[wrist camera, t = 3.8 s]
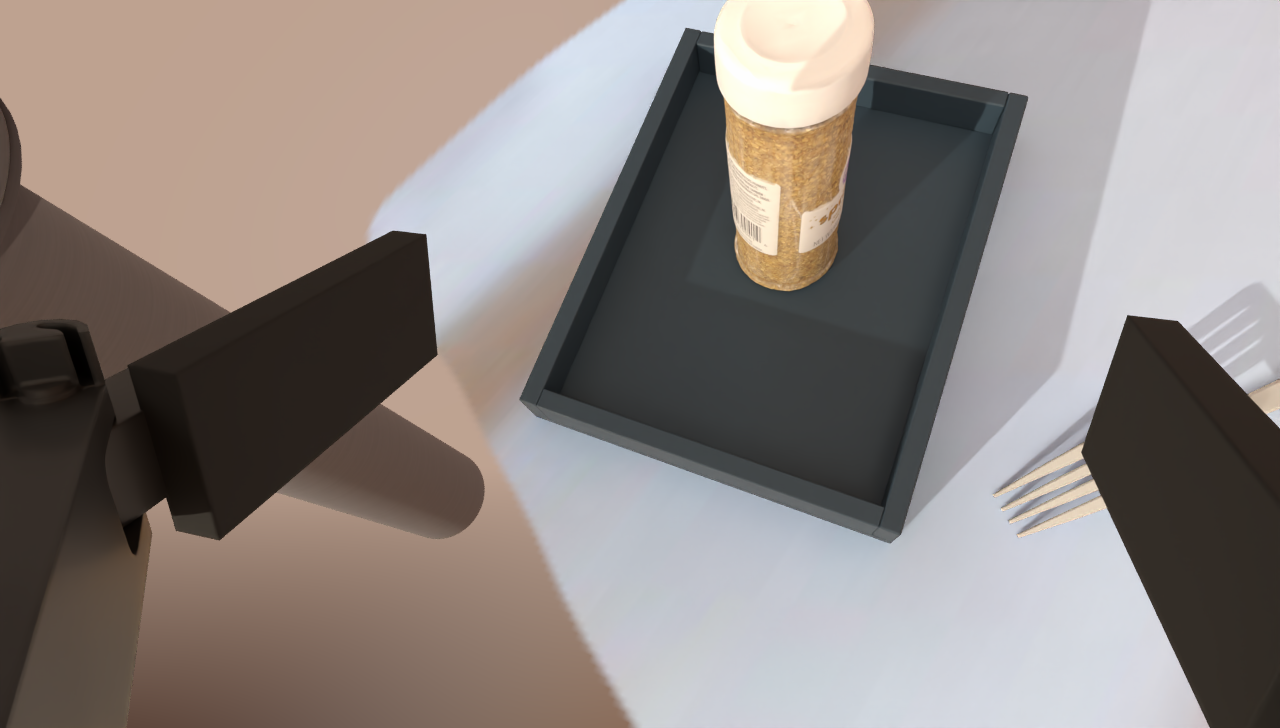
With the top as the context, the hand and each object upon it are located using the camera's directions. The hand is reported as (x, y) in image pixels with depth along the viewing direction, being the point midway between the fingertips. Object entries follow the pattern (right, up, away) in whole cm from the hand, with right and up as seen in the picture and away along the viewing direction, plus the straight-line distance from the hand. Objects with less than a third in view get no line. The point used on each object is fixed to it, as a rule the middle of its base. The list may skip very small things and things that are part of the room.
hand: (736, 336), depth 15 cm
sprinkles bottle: (+5, +5, +20) cm, 21 cm away
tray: (+4, +4, +20) cm, 20 cm away
